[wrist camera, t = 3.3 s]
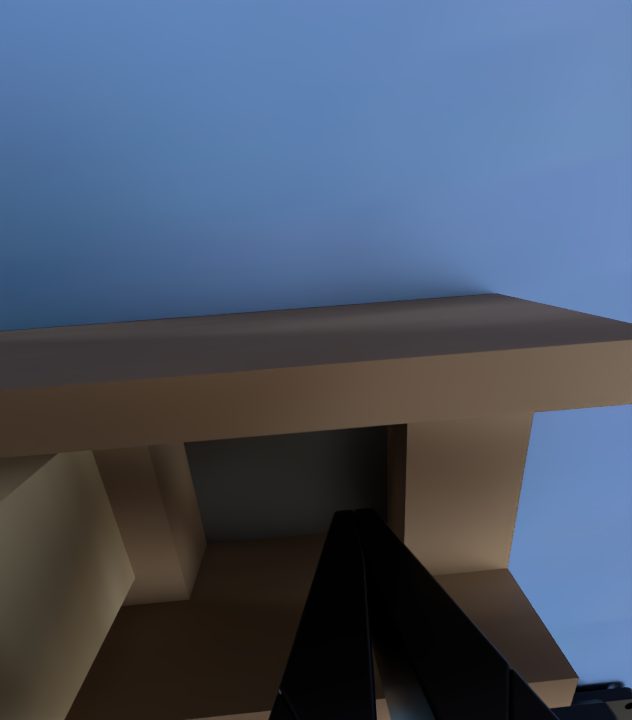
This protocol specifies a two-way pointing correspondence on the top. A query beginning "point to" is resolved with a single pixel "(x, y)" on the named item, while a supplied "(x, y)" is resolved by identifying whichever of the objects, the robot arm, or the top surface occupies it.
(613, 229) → the top surface
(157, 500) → the walnut trough
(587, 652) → the top surface
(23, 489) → the maple block
